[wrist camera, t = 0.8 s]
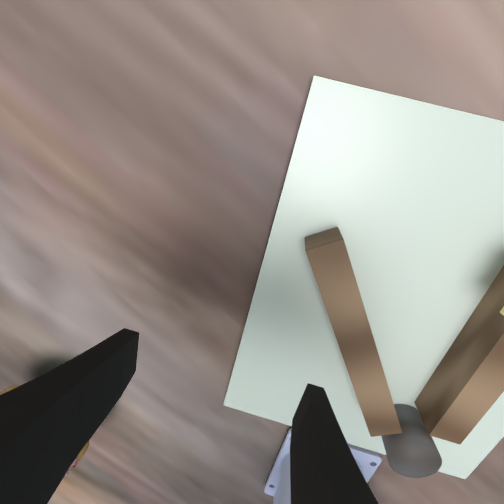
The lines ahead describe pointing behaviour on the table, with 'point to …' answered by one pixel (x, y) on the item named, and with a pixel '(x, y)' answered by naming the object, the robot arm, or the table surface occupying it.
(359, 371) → the tong jaw
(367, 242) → the serving board
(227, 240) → the table surface
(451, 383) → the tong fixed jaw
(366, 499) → the robot arm
